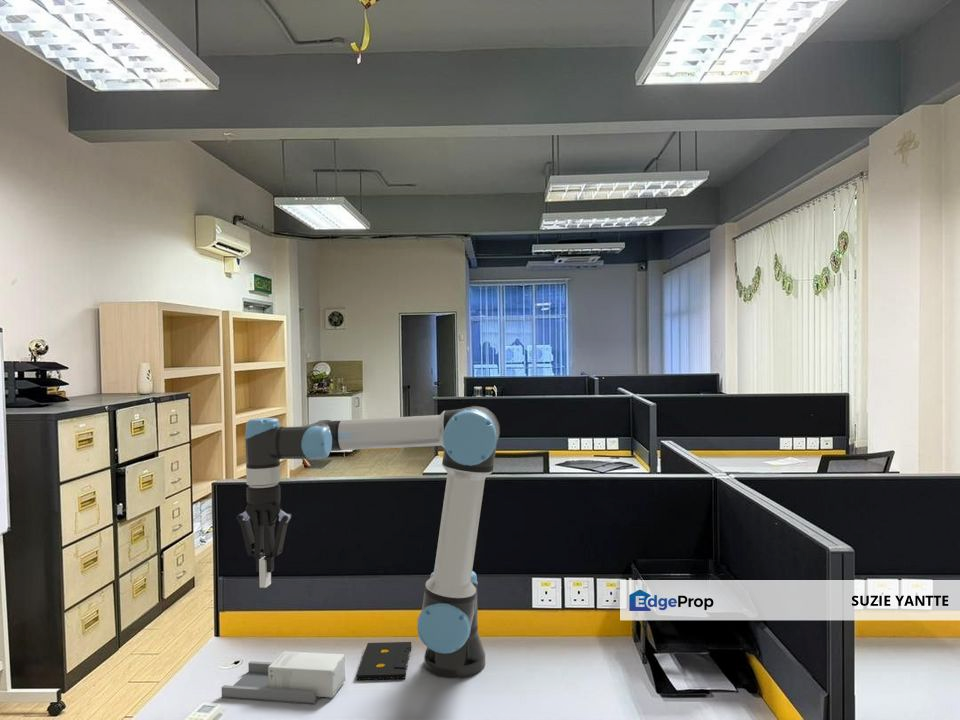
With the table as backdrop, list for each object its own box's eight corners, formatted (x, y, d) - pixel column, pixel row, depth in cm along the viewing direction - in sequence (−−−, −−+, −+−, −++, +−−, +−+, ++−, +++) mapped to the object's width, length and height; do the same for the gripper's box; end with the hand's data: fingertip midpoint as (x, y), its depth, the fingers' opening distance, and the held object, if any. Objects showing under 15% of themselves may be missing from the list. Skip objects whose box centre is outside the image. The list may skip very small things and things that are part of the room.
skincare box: (267, 693, 150) (332, 700, 147) (267, 664, 150) (331, 670, 147) (284, 676, 158) (346, 681, 155) (284, 648, 158) (346, 653, 155)
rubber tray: (336, 676, 158) (336, 666, 158) (314, 704, 146) (313, 693, 146) (250, 670, 162) (250, 661, 162) (221, 697, 149) (221, 687, 149)
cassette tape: (405, 682, 156) (404, 673, 156) (356, 683, 156) (356, 674, 156) (411, 648, 174) (411, 640, 174) (367, 649, 174) (367, 641, 174)
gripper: (296, 481, 157) (298, 581, 157) (245, 481, 159) (247, 579, 159) (282, 488, 150) (284, 592, 150) (228, 487, 152) (230, 590, 152)
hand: (265, 585), depth 154 cm, fingers closed
